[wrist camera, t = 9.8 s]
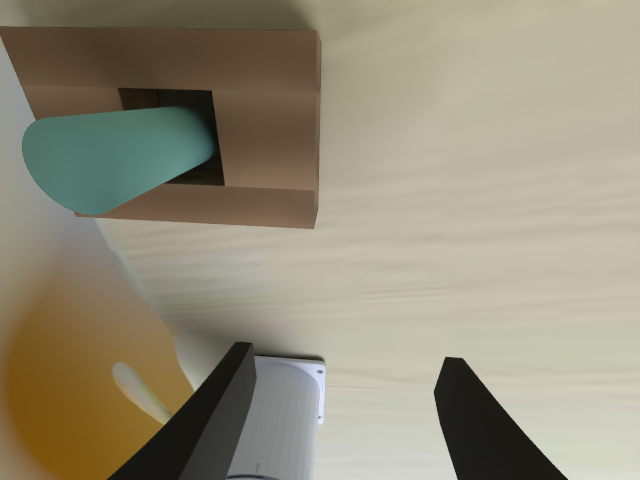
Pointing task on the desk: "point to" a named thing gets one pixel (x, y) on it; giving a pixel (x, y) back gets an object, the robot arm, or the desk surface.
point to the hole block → (229, 104)
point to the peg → (116, 153)
